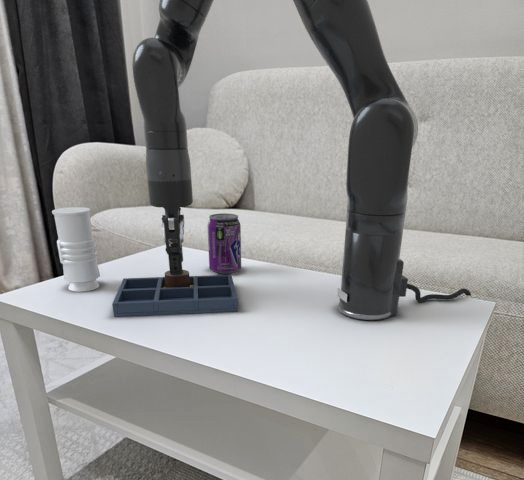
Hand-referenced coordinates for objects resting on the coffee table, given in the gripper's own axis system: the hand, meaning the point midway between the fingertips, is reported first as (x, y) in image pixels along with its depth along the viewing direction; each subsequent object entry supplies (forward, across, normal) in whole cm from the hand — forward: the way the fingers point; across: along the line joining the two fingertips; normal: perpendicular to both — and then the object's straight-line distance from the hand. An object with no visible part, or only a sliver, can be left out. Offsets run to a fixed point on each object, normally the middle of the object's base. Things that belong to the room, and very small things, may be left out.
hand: (177, 268), depth 89 cm
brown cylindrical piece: (+4, 0, 0) cm, 4 cm away
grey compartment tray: (+5, -3, 0) cm, 6 cm away
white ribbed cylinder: (+5, +7, +19) cm, 21 cm away
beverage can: (+5, +15, -10) cm, 19 cm away
